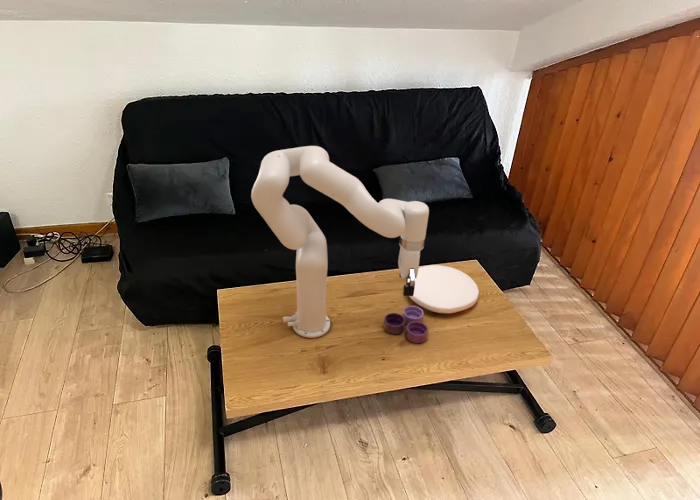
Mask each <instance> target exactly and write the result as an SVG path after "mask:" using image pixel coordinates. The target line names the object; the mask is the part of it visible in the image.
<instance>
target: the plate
mask: <svg viewBox="0 0 700 500" xmlns="http://www.w3.org/2000/svg"><path fill="white" fill-rule="evenodd" d="M409 276H410V275H409ZM408 282H410V279H408ZM479 296H480V291H479V287H478V285H477V283H476V282H475V281H474V280H473V278H471V276H469V275H468V274H467V273H465V272H464V271H461V270H460V269H457V268H454V267H451V266H447V265H441V264H440V265H439V264H430V265H424V266H419V268H418V274H417V278H415V288H414V295H413V296H408V297H409V298H410V300H412V301H413V302H414V303H415V304H417V305H418V306H420V307H422V308H423V309H426V310H428V311H429V312H433V313H437V314H448V315H449V314H455V313H458V312H461V311H466V310H467V309H469V308H471V307H473V306H474V305H475V304H476V303H477V301H478V299H479Z"/></svg>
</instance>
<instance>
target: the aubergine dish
mask: <svg viewBox="0 0 700 500" xmlns="http://www.w3.org/2000/svg"><path fill="white" fill-rule="evenodd" d="M405 325H406V324H405V318H404V317H403V314H401V313H398V312H389V313H387V314H386V315H385V316H384V320H383V329H384V331H386V332H387V333H389V334H391V335H399V334H401V333H403V332H404V330H405Z"/></svg>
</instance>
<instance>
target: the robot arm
mask: <svg viewBox="0 0 700 500" xmlns="http://www.w3.org/2000/svg"><path fill="white" fill-rule="evenodd" d="M296 176H299V177H300V178H301V180H302V181H303V182H304V183H305V184H306V185H307V186H309V187H311V188H313V189H315V191H318V192H320V193H322V194H323V195H325V196H326V197H328V198H331V199H332V200H333V201H335V202H337V203H338V204H340V205H341V206H343V207H344V208H345V209H346V210H347V211H348V212H349V213H350V214H351V215H353V216H354V217H355V218H356V219H357V220H358V221H359V222H360V223H361V224H363V225H364V226H365V227H367V228H368V229H369V230H371V231H373V232H375V233H377V234H379V235H381V236H382V237H385V238H389V239H395V238H398V237H399V242H398V245H399V248H400V249H399V254H398V259H397V265H398V270H399V275H398V276H399V278H401V279H405V282H404V285H403V292H402V293H403V294H402V295H403V296H404V297H409V296H413V295H414V288H415V278H417V274H418V268H420V258H421V251H422V250H423V249H424V247H425V242H426V236H427V228H428V222H429V217H430V216H429V215H430V209H429V208H430V207H429V206H428V205H427V204H426V203H425V202H422V201H419V200H417V201H416V200H412V201H405V200H400V199H395V198H383V199H382V200H379V202H377V200H376V199H374V197H372V195H371V194H370V193H369V191H368V190H367V189H366V187H365V185H364V184H363V183H362V181H361V180H359V178H357V177H356V176H354V175H352V174H351V173H349V172H347V171H346V170H344V169H343V168H340V167H339V166H338V165H336V164H334V163H333V162H331V161H330V156H329V153H328V151H327V150H325V148H323V147H321V146H319V145H307V146H305V145H304V146H298V147H294V148H293V147H292V148H286V149H280V150H274V151H271V152H269V153H267V154H266V155H265V156H264V157H263V159H262V160H261V162H260V167H259V171H258V175H257V177H256V180H255V181H254V183H253V186H252V188H251V194H250V198H251V202H252V205H253V206H254V208H255V209H256V211H257V212H258V213H259V215H260V216H261V217H262V218H263V220H264V221H265V223H266V224H267V226H268V227H269V228H270V229H271V231H272V232H273V233H274V235H275V236H276V238H277V239H278V240H279V242H280V243H281V244H282V245H283V247H286V248H287V249H289V250H292V251H296V252H295V253H296V254H295V255H296V256H295V277H296V311H294V314H292V315H291V316H288V315H287V316H282V322H283V323H287V327H292V330H293V331H294V332H295V333H296V335H299V336H301V337H304V338H309V339H310V338H311V339H313V338H319V337H322V336H324V335H326V334H327V333H328V332H329V331H330V328H331V320H330V318H329V317H328V316H327V287H328V286H327V284H328V281H327V280H328V268H329V267H328V265H329V261H328V258H329V257H328V243H327V238H326V236H325V234H324V233H323V231H322V230H321V229H320V227H319V226H318V224H317V223H316V222H315V220H314V218H313V217H312V216H311V214H310V213H309V211H308V210H307V209H306V208H304V207H303V206H301V205H298V204H290V203H289V201H288V200H287V199H286V198H285V197H284V193H285V191H286V189H287V187H288V186H289V183H290V177H296ZM409 275H410V276H409ZM408 279H410V282H408Z"/></svg>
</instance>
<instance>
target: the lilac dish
mask: <svg viewBox="0 0 700 500" xmlns="http://www.w3.org/2000/svg"><path fill="white" fill-rule="evenodd" d="M424 314H425V313H424V310H423V309H422V308H421V307H419V306H417V305H407V306H405V307H404V308H403V310H402V316H403V317H404V318H405V325H406V326H407V325H408V324H409V323H410V322H413V321H418V322H422V323H423V320H424Z"/></svg>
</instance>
